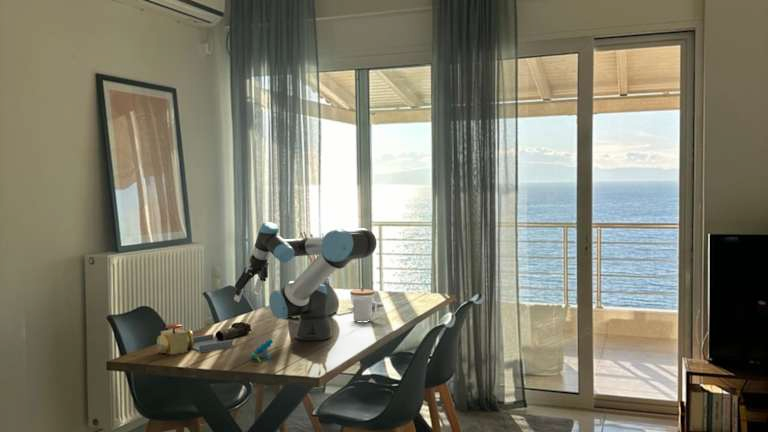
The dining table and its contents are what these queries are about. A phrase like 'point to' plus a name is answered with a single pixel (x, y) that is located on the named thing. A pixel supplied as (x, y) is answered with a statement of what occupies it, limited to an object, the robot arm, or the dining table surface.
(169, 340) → the brass valve
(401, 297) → the dining table surface
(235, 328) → the dark brown elongated piece
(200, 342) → the blue-grey u-shaped block
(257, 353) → the blue green toy
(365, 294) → the lidded bowl
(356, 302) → the mug
